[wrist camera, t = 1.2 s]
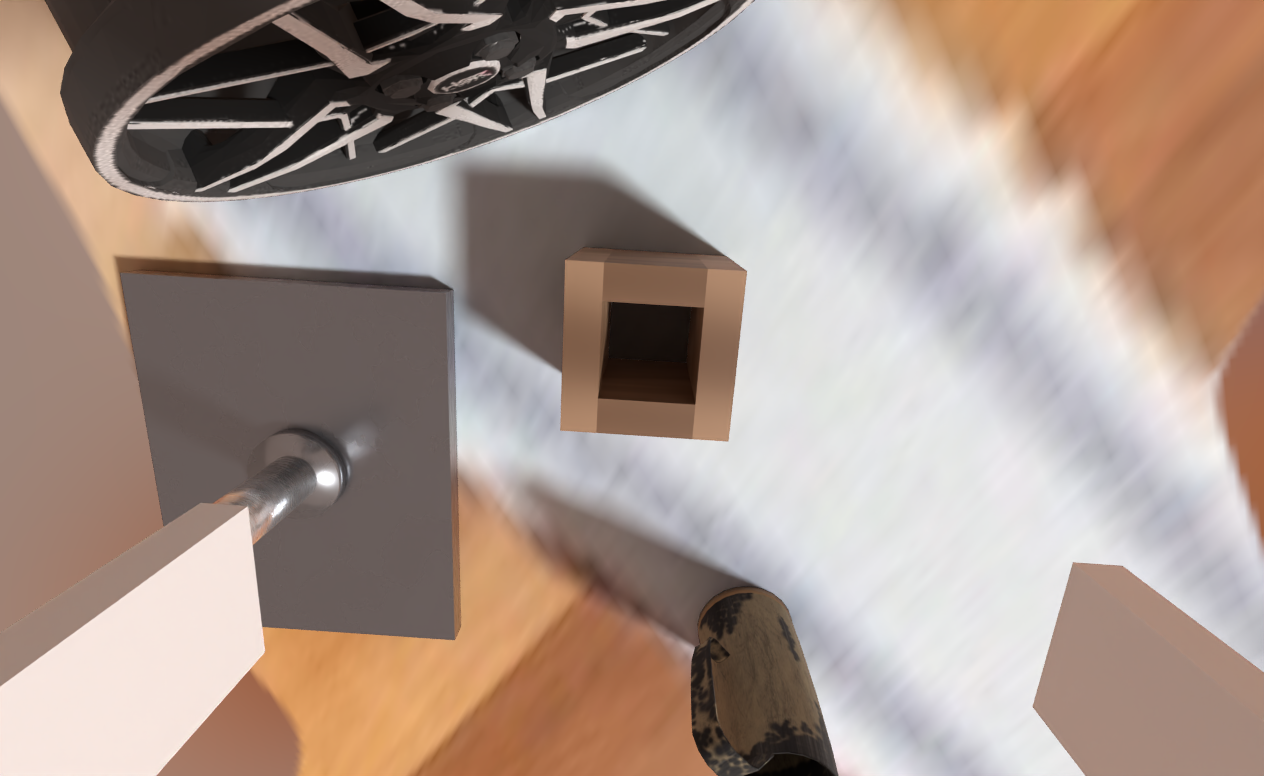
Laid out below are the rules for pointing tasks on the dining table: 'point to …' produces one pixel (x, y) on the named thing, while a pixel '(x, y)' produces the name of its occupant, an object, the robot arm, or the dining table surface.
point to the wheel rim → (341, 82)
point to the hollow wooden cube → (649, 389)
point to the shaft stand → (311, 438)
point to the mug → (755, 691)
